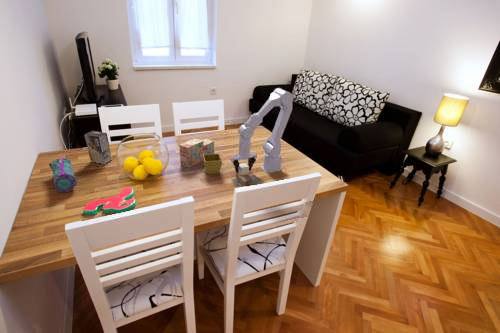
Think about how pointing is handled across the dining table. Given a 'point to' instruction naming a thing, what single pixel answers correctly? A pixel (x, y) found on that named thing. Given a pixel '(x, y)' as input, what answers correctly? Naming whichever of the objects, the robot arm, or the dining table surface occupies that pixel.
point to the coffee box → (98, 147)
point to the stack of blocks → (195, 151)
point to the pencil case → (63, 175)
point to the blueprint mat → (254, 177)
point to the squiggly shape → (112, 203)
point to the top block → (243, 169)
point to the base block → (246, 181)
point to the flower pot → (212, 163)
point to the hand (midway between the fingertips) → (243, 171)
